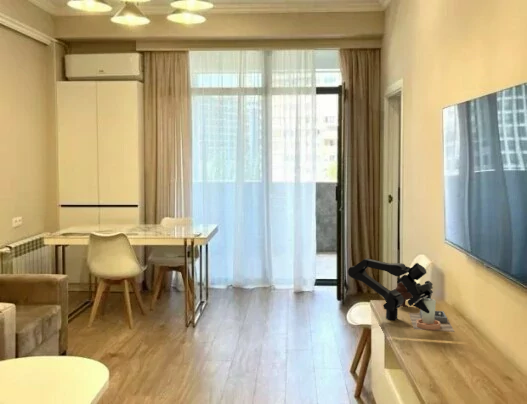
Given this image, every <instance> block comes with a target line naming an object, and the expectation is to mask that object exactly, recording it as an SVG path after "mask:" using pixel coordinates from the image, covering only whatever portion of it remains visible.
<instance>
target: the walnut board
mask: <svg viewBox="0 0 527 404" xmlns="http://www.w3.org/2000/svg"><path fill="white" fill-rule="evenodd" d="M408 315H409V319H410V322H411V325H412V327H413V330H418V331H420V330H421V331H434V332H435V331H436V332H451V333H455V332H456V331H455V329H454V328H453V326H452V324H451V322H450V321H449V319H448V318H447V323H442V322H440V324H441V327H440V328H439V329H435V330H432V329H423V328H420V327H417V325H416V320H418V319H421V317H420V312H408Z"/></svg>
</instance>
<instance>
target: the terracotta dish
mask: <svg viewBox="0 0 527 404" xmlns="http://www.w3.org/2000/svg"><path fill="white" fill-rule="evenodd" d="M416 325H417V327H420V328H423V329H432V330H435V329H439V328H440V327H441V324H440V322H439V321H436V320H435V322H434V324H426V323H423V322H422V319H418V320H416ZM432 330H431V331H432Z"/></svg>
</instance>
